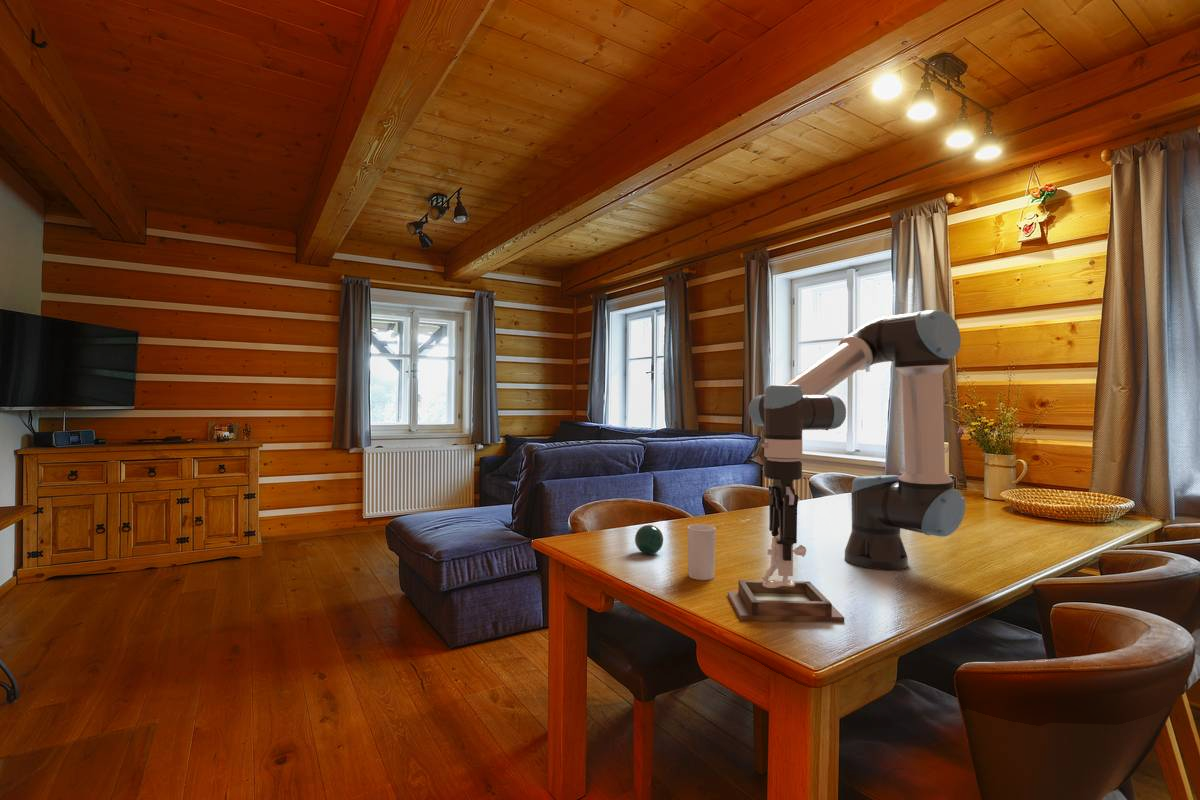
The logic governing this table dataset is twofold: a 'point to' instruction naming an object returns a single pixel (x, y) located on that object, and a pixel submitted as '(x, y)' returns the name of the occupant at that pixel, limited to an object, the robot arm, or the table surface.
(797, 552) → the figurine
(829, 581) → the table surface
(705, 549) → the mug
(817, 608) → the brown picture frame
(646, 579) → the table surface
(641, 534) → the sphere
